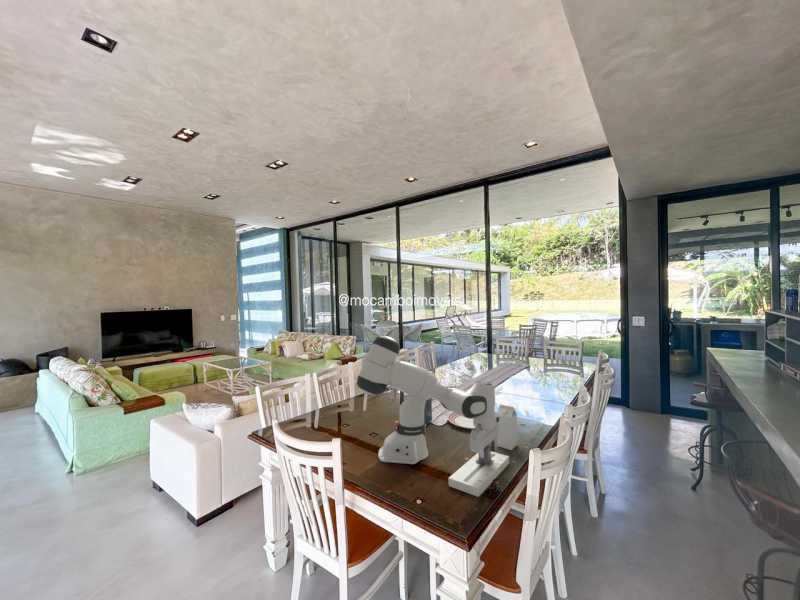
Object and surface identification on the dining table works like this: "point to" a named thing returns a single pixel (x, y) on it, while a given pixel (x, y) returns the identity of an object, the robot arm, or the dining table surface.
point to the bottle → (428, 410)
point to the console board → (478, 474)
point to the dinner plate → (460, 421)
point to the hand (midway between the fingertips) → (484, 454)
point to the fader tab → (486, 457)
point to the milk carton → (507, 427)
